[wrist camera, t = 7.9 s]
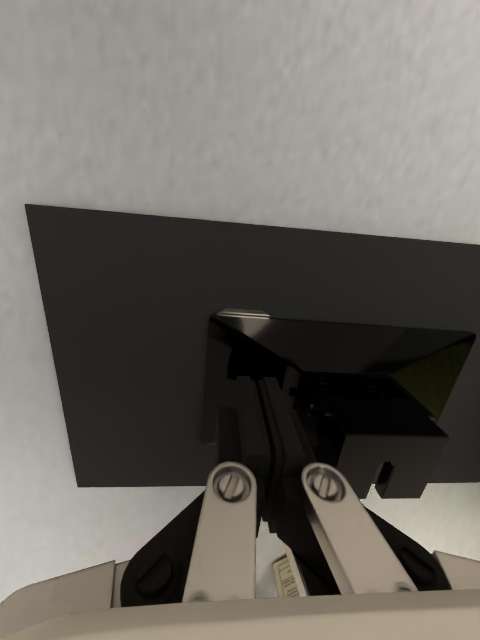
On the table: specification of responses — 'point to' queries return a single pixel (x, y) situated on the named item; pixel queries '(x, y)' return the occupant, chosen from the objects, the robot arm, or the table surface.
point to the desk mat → (193, 315)
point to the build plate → (345, 389)
